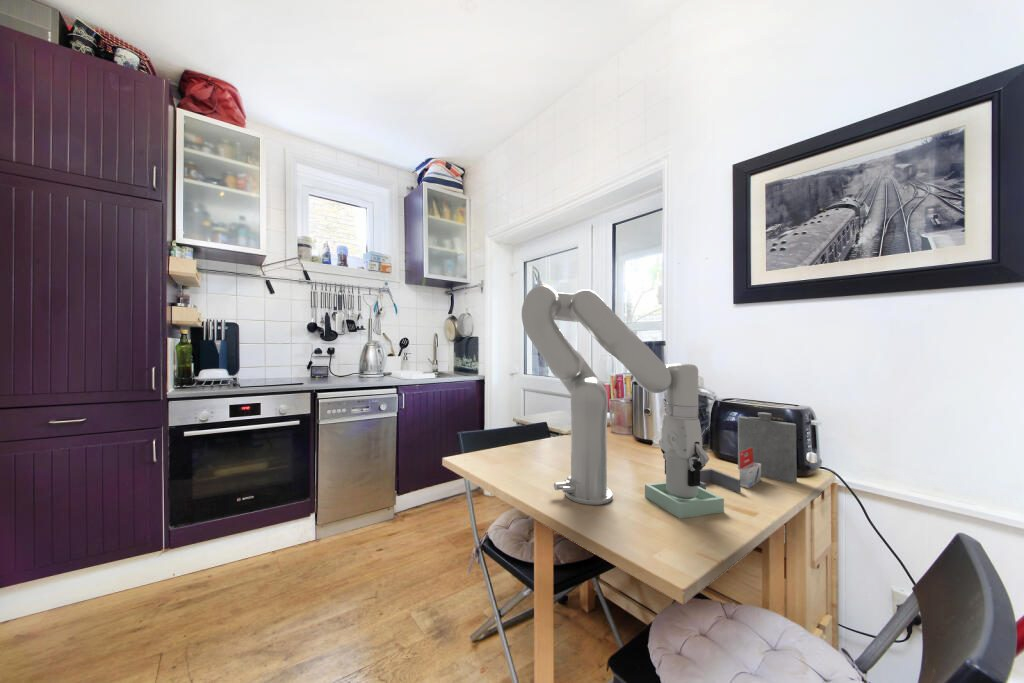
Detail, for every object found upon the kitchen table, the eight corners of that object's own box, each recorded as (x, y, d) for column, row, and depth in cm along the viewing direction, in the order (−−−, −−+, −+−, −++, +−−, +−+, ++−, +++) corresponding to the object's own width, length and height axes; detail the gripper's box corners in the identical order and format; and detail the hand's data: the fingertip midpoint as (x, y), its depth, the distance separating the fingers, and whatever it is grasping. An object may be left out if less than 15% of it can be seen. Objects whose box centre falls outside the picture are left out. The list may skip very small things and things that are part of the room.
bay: (703, 497, 96) (702, 484, 96) (676, 483, 106) (676, 472, 106) (740, 492, 100) (740, 479, 100) (711, 479, 110) (711, 468, 110)
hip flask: (798, 481, 109) (797, 415, 110) (793, 484, 107) (793, 417, 107) (740, 467, 122) (740, 408, 123) (735, 469, 120) (735, 409, 120)
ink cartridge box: (761, 480, 110) (761, 448, 110) (748, 489, 103) (748, 454, 103) (752, 478, 112) (751, 446, 112) (738, 486, 105) (738, 452, 105)
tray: (680, 518, 84) (680, 504, 84) (644, 496, 97) (644, 484, 97) (723, 511, 88) (723, 498, 88) (684, 491, 100) (684, 479, 100)
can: (703, 501, 88) (703, 452, 89) (673, 500, 89) (673, 451, 89) (689, 489, 96) (689, 444, 96) (661, 488, 96) (661, 443, 96)
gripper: (647, 406, 100) (647, 470, 100) (696, 418, 83) (695, 494, 83) (670, 405, 102) (670, 468, 102) (721, 417, 85) (721, 491, 85)
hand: (681, 479), depth 92 cm, fingers closed on can, 7 cm apart
